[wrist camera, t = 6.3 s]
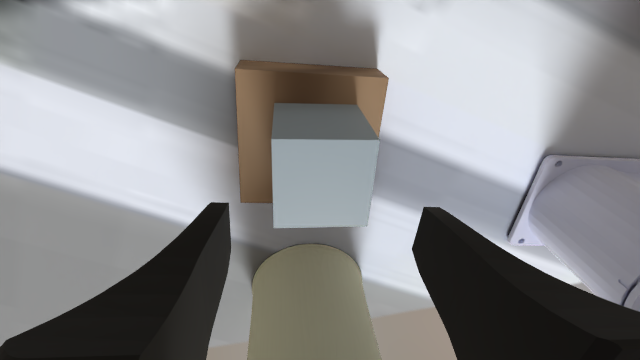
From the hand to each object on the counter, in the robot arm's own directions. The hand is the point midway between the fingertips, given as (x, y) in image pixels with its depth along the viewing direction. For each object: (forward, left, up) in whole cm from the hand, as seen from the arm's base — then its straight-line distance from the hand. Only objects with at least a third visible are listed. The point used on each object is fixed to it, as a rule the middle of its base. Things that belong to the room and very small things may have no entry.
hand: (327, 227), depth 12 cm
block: (0, 0, -8) cm, 8 cm away
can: (-1, +14, -11) cm, 18 cm away
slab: (0, 0, -11) cm, 11 cm away
